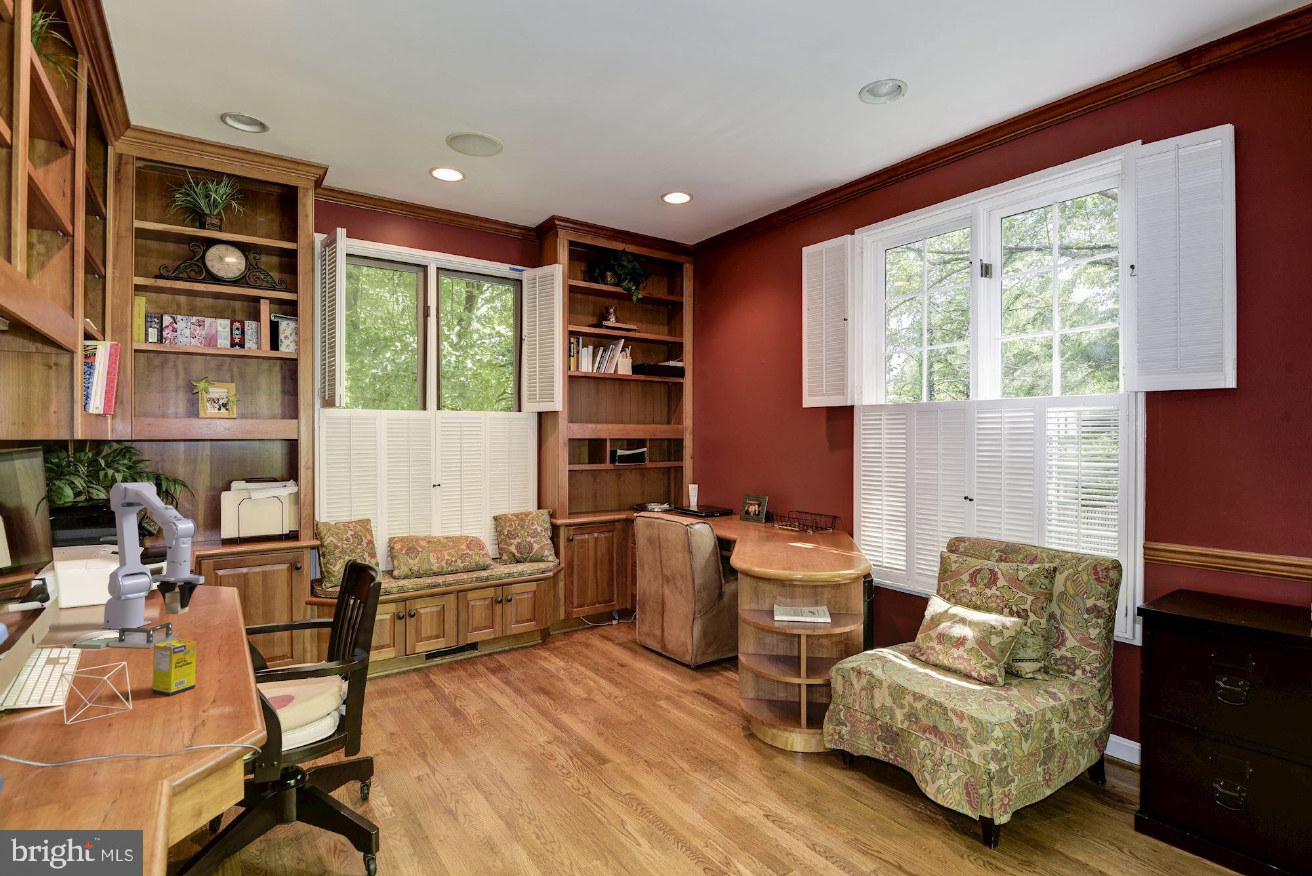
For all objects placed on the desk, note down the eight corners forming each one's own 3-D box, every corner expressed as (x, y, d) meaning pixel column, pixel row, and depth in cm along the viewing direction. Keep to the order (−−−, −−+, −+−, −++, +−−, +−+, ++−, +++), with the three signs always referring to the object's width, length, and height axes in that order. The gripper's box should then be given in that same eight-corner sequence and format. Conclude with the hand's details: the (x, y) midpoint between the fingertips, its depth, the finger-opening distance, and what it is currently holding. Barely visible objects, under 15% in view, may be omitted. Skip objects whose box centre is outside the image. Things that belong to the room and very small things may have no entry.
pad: (75, 647, 184) (75, 643, 184) (118, 633, 198) (118, 630, 198) (100, 648, 183) (100, 644, 184) (141, 634, 197) (141, 631, 198)
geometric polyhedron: (141, 701, 148) (143, 659, 149) (121, 720, 138) (122, 675, 138) (72, 707, 144) (73, 664, 144) (45, 727, 134) (47, 681, 134)
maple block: (164, 614, 195) (165, 593, 195) (175, 610, 199) (175, 590, 199) (178, 614, 195) (179, 593, 195) (188, 611, 199) (189, 590, 199)
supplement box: (195, 688, 157) (197, 641, 157) (169, 696, 151) (171, 647, 151) (177, 684, 159) (179, 638, 159) (151, 692, 153) (153, 644, 153)
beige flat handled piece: (108, 646, 185) (109, 629, 186) (137, 636, 195) (138, 620, 196) (150, 648, 185) (151, 630, 185) (177, 638, 195) (178, 621, 195)
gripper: (143, 562, 193) (141, 609, 193) (192, 564, 193) (191, 611, 193) (162, 558, 200) (160, 604, 200) (210, 560, 200) (208, 605, 200)
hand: (176, 607), depth 197 cm, fingers closed on maple block, 4 cm apart
